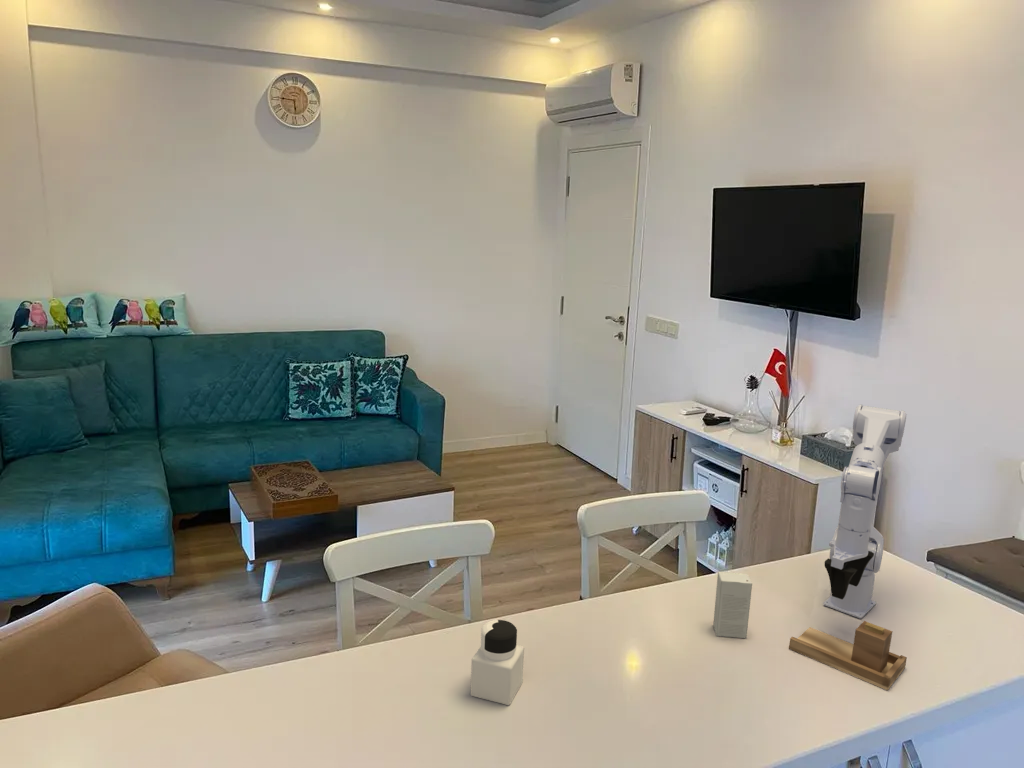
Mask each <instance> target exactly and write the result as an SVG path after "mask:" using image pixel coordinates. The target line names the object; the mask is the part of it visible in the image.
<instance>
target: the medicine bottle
mask: <svg viewBox="0 0 1024 768" xmlns="http://www.w3.org/2000/svg"><path fill="white" fill-rule="evenodd" d="M480 632H481V633H480V636H481V637H480V647H479V648H478V649H477V650H476V652H475V654H474V655H473V656H472V658H471V666H470V667H471V668H470V669H471V671H470V673H471V674H470V696H471V697H475V698H479V699H482V700H487V701H490V702H495V703H498V704H502V705H506V706H509V705H511V703H512V702H513V700H514V698H515V696H516V695H517V693H518V691H519V689H520V688H521V686H522V684H523V681H524V679H523V678H524V677H523V676H524V662H525V661H524V657H525V647H524V646H523V645H520V644H519V645H518V644H517V639H518V629H517V626H515V625H514V624H513V623H512V622H510V621H508V620H503V619H494V620H493V619H492V620H490V621H487V622H486V623H484V624H483V625H482V626H481V630H480Z"/></svg>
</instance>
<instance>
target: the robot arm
mask: <svg viewBox="0 0 1024 768" xmlns="http://www.w3.org/2000/svg"><path fill="white" fill-rule="evenodd" d="M906 420H907V413H906V411H904V410H896V409H888V408H883V407H874V406H869V405H863V404H858V405H857V406H856V407H855V411H854V416H853V421H852V431H853V432H852V439H853V444H854V445H856V446H855V447H854V449H853V451H852V454H851V456H850V457H851V458H850V461H849V463H848V466H844V467H843V471H842V474H841V480H840V501H839V502H840V503H841V504H840V511H839V519H838V523H837V524H838V525H837V526H836V527H835V530H834V534H833V536H832V539H831V540H830V541H829V542H828V545H829V547H830V550H829V557H828V558H827V559H825V561H824V568H825V570H826V571H827V574H828V578H829V584H830V585H829V586H830V592H831V595H830V596H829V597H828V598H827V599H826V600H824V601H823V606H825V607H828V608H830V609H833V610H836V611H838V612H841V613H844V614H846V615H849V616H853V617H854V618H857V619H862V618H864V617H865V616H866V615H867V614H868V613H869V612H870V610H872V609H873V608H874V607H875V605H876V604H877V602H876V600H872V599H873V594H874V593H873V591H874V585H875V579H876V574H875V573H878V572H879V571H880V569H881V566H882V565H881V564H882V559H883V553H884V543H885V538H884V536H883V534H882V533H881V532H880V531H879V530H878V529H877V528H875V526H874V519H875V514H876V511H877V510H876V508H877V504H878V497H879V493H880V489H881V483H882V477H883V472H884V467H885V466H884V465H885V462H886V460H887V459H888V456H889V455H890V454H893V453H895V452H898V451H899V450H900V447H901V445H902V442H903V441H902V440H903V437H904V432H905V427H906Z"/></svg>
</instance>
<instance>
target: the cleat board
mask: <svg viewBox="0 0 1024 768" xmlns="http://www.w3.org/2000/svg"><path fill="white" fill-rule="evenodd" d="M853 644H854V643H851V642H848V641H847V640H843V639H841V638H838V637H836V636H834V635H832V634H829V633H826V632H823V631H821V630H819V629H816V628H814V627H812V626H810V627H808V628H807V629H806V630H805V631H804V632H803V633H802V634H801V635H800V636H799V637H797V638H796V637H794V636H791V637H789V645H788V650H791V651H793V652H795V653H798V654H800V655H802V656H805V657H807V658H809V659H812V660H814V661H817V662H820V663H821V664H824V665H826V666H828V667H831V668H833V669H836V670H837V671H838V670H839V671H841V672H842V673H845V674H848V675H850V676H852V677H855V678H857V679H860V680H862V681H864V682H867V683H869V684H871V685H872V686H873V685H874V686H876V687H878V688H881V689H883V690H886V691H889V689H890V688H891V687H892V685H893V684H895V681H896V680H897V679H898V677H899V676H900V675H901V674H902V672H903V671H904V670H905V668H906V664H907V658H908V657H907V656H904V655H898V654H896V653H895V652H891V651H889V656H888V662H887V666H886V667H885V668H884V669H883V671H882V672H881V673H880V672H877V671H875V670H873V669H870V668H868V667H865V666H863V665H860V664H858V663H855V662H853V661H851V657H852V651H853Z"/></svg>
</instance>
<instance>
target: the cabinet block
mask: <svg viewBox="0 0 1024 768" xmlns="http://www.w3.org/2000/svg"><path fill="white" fill-rule="evenodd" d="M854 632H855V633H854V638H853V639H854V640H853V643H852V644H853V651H852V657H851V661H853V662H855V663H858V664H860V665H863V666H865V667H868V668H870V669H873V670H875V671H877V672H880V673H881V672H882V671H883V669H884V668H885V667H886V666H887V662H888V656H889V652H890V649H891V643H892V637H893V636H892V635H893V631H892V630H891V629H887V628H885V627H881V626H879V625H877V624H875V623H871V622H868V621H865V620H863V621H862V622H861V623H860V625H859V626H858V627H856V629H855V631H854Z"/></svg>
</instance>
